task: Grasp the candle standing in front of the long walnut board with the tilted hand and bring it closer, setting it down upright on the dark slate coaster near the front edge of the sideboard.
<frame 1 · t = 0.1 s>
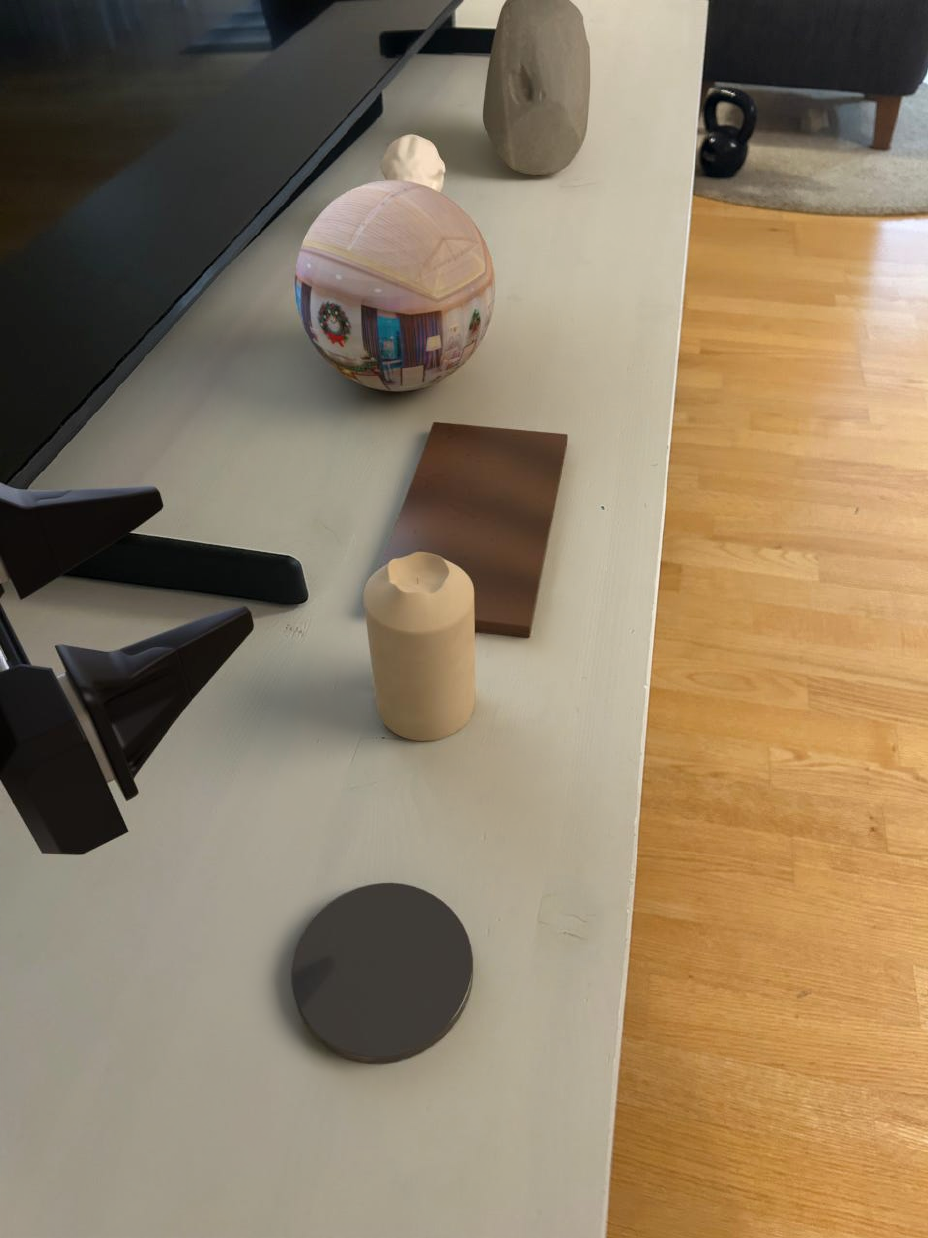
hand: (202, 552, 41), 15 cm above the table, tool horizontal, fingers open, 9 cm apart
walnut board: (476, 523, 66), on the table
candle: (426, 705, 55), on the table
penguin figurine: (410, 243, 97), on the table
decorative stone: (535, 156, 113), on the table
coaster: (383, 972, 44), on the table
ornament: (401, 379, 79), on the table
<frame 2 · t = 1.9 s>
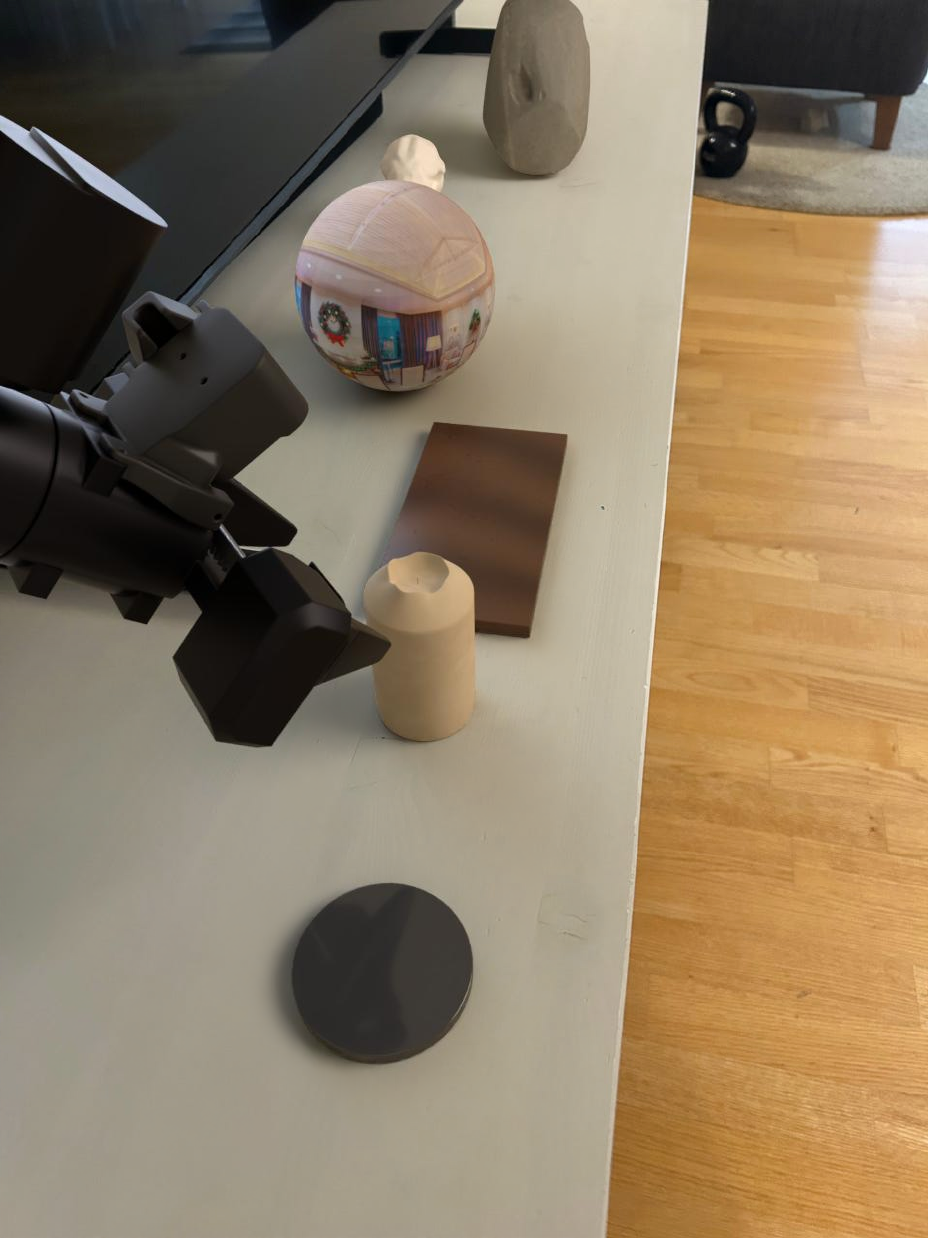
hand: (335, 590, 45), 11 cm above the table, tool tilted 45°, fingers open, 9 cm apart
nothing on the table moved.
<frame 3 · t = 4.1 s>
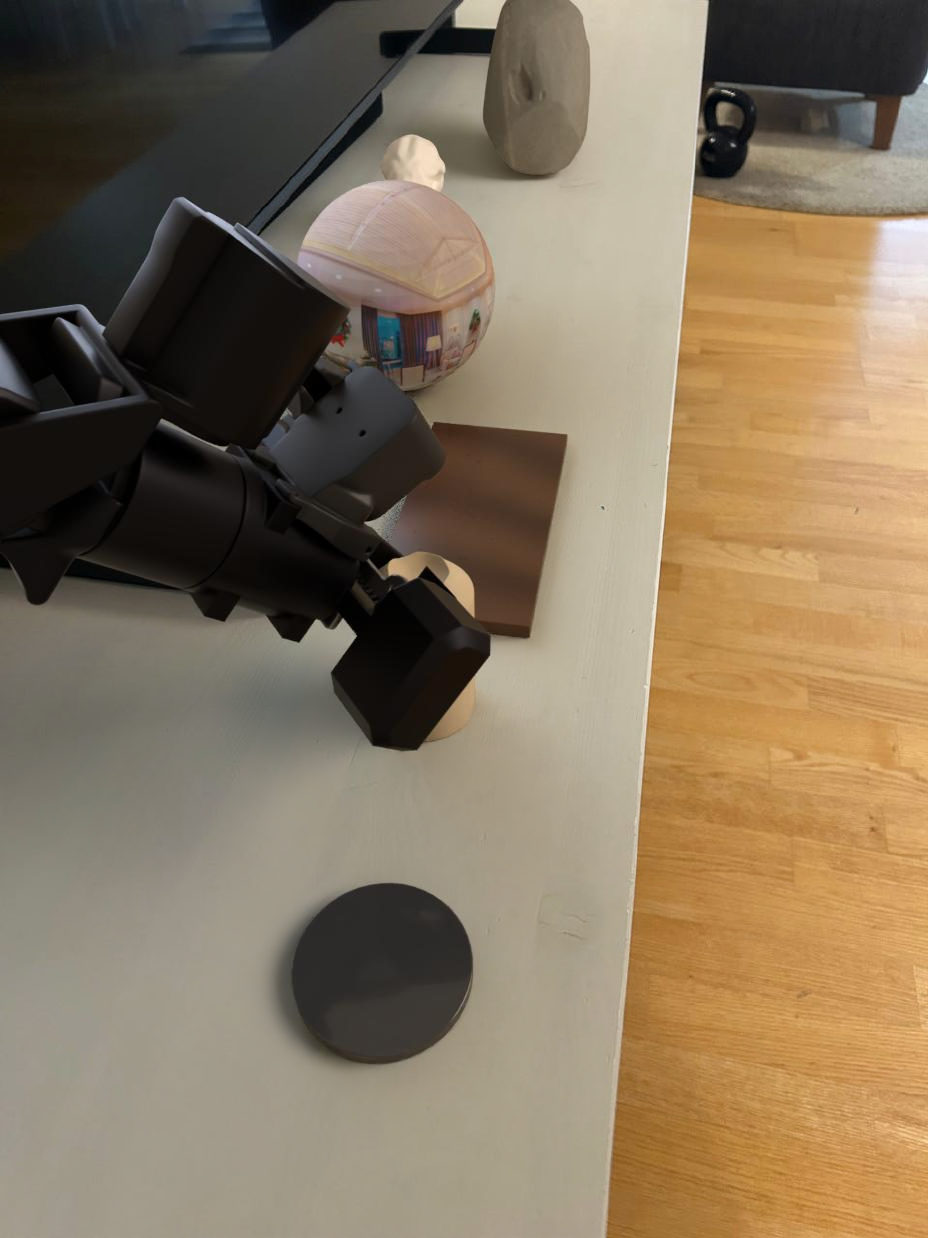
hand: (444, 610, 50), 7 cm above the table, tool tilted 45°, fingers closed on candle, 5 cm apart
candle: (426, 705, 55), on the table, touching gripper
everything else where it was.
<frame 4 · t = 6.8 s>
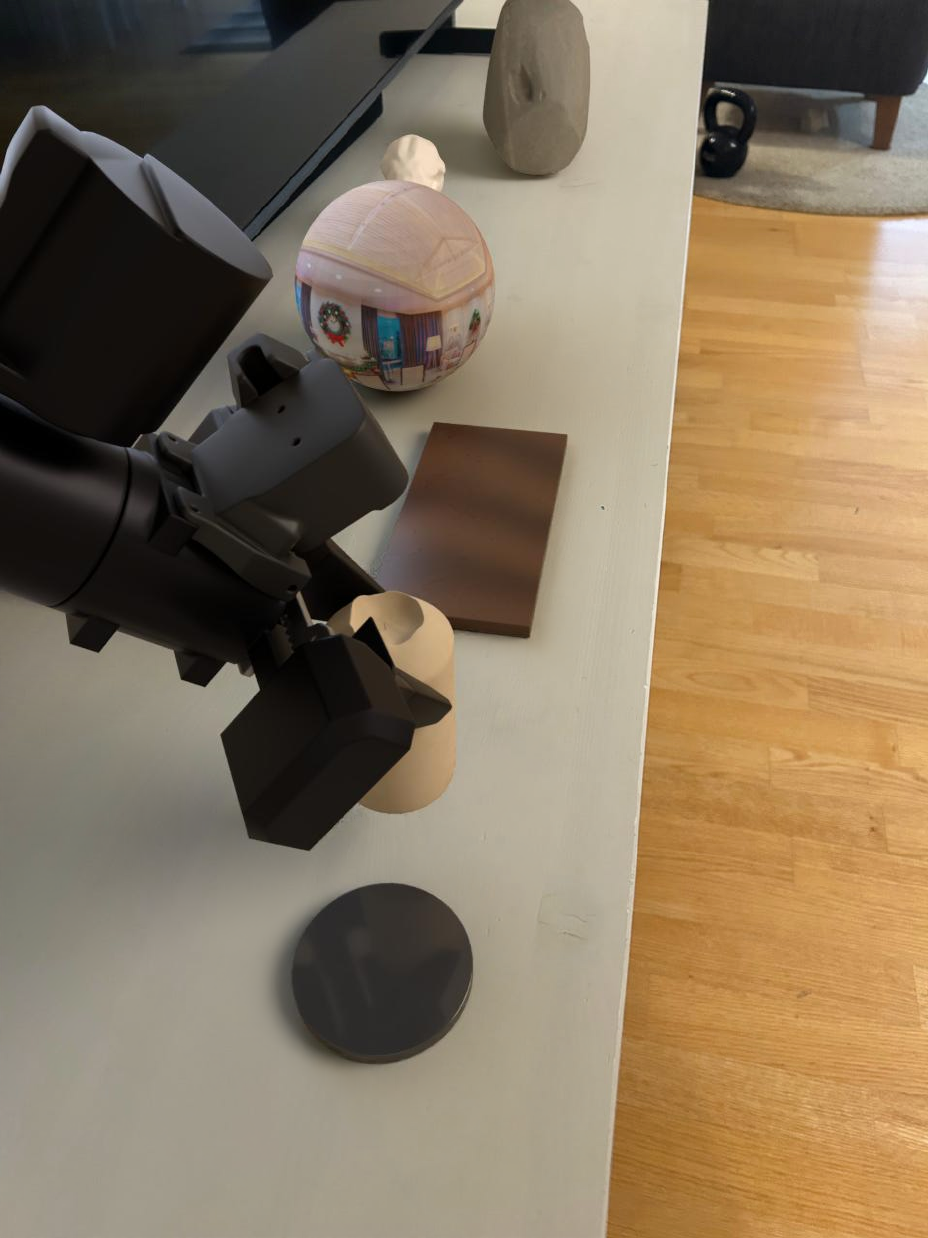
hand: (420, 664, 42), 11 cm above the table, tool tilted 45°, fingers closed on candle, 5 cm apart
candle: (397, 769, 46), point 4 cm above the table, touching gripper
everything else where it was.
when the fingers open (7 cm above the table, at t = 9.6 s): candle stays where it is, resting on coaster.
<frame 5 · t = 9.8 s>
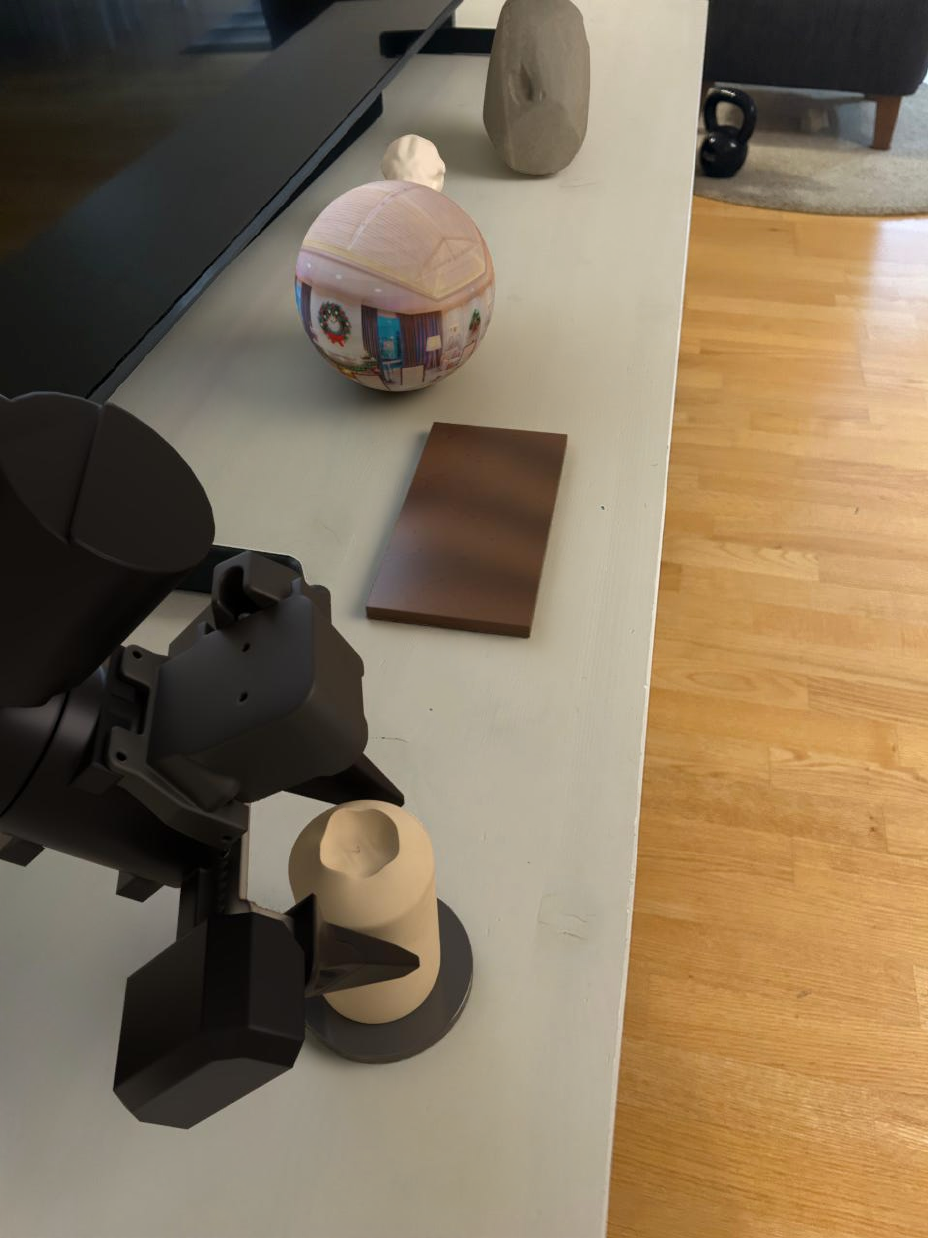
hand: (404, 881, 38), 7 cm above the table, tool tilted 45°, fingers open, 7 cm apart
candle: (378, 965, 43), point 1 cm above the table, touching coaster
everything else where it was.
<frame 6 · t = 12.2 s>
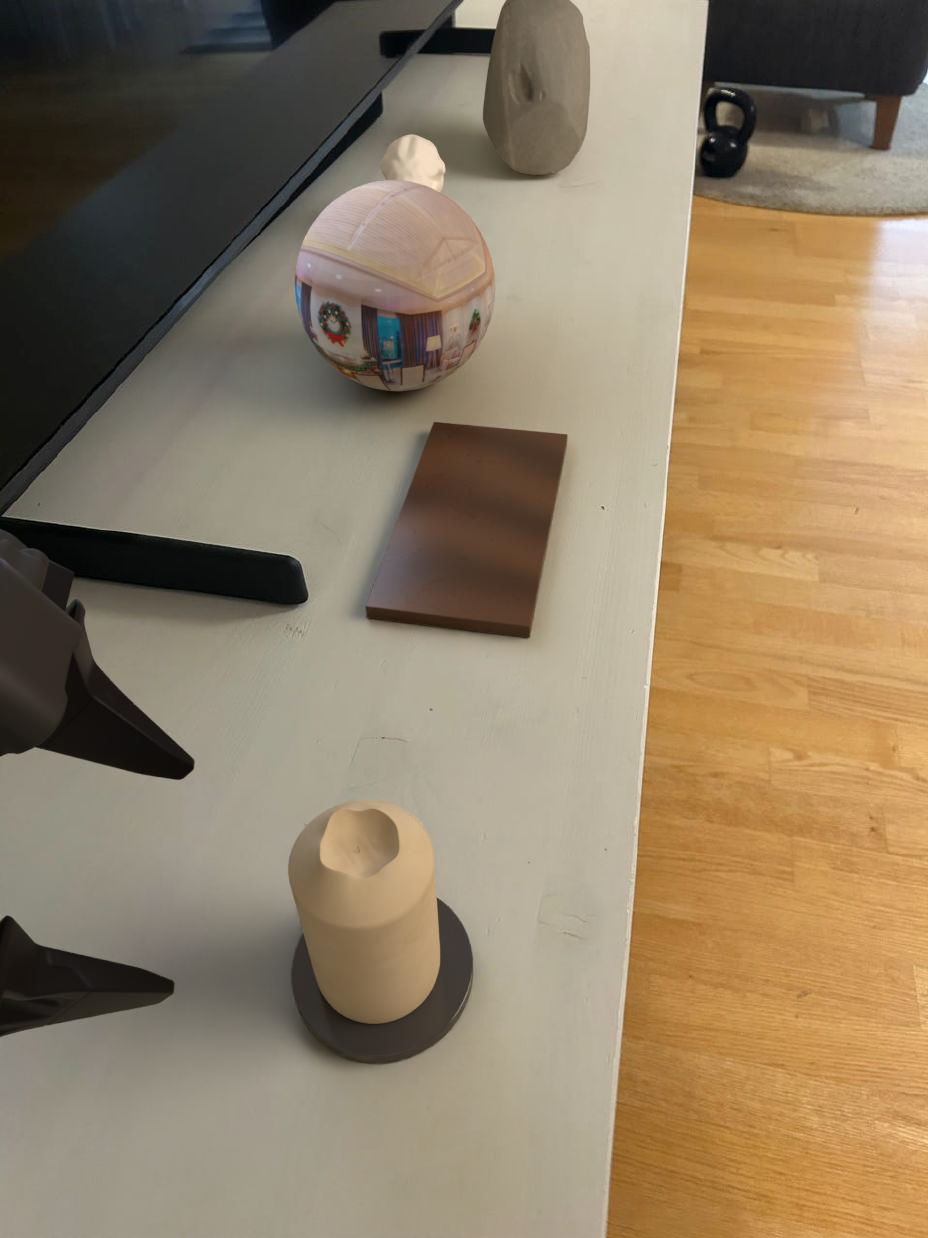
hand: (179, 872, 36), 10 cm above the table, tool tilted 45°, fingers open, 9 cm apart
nothing on the table moved.
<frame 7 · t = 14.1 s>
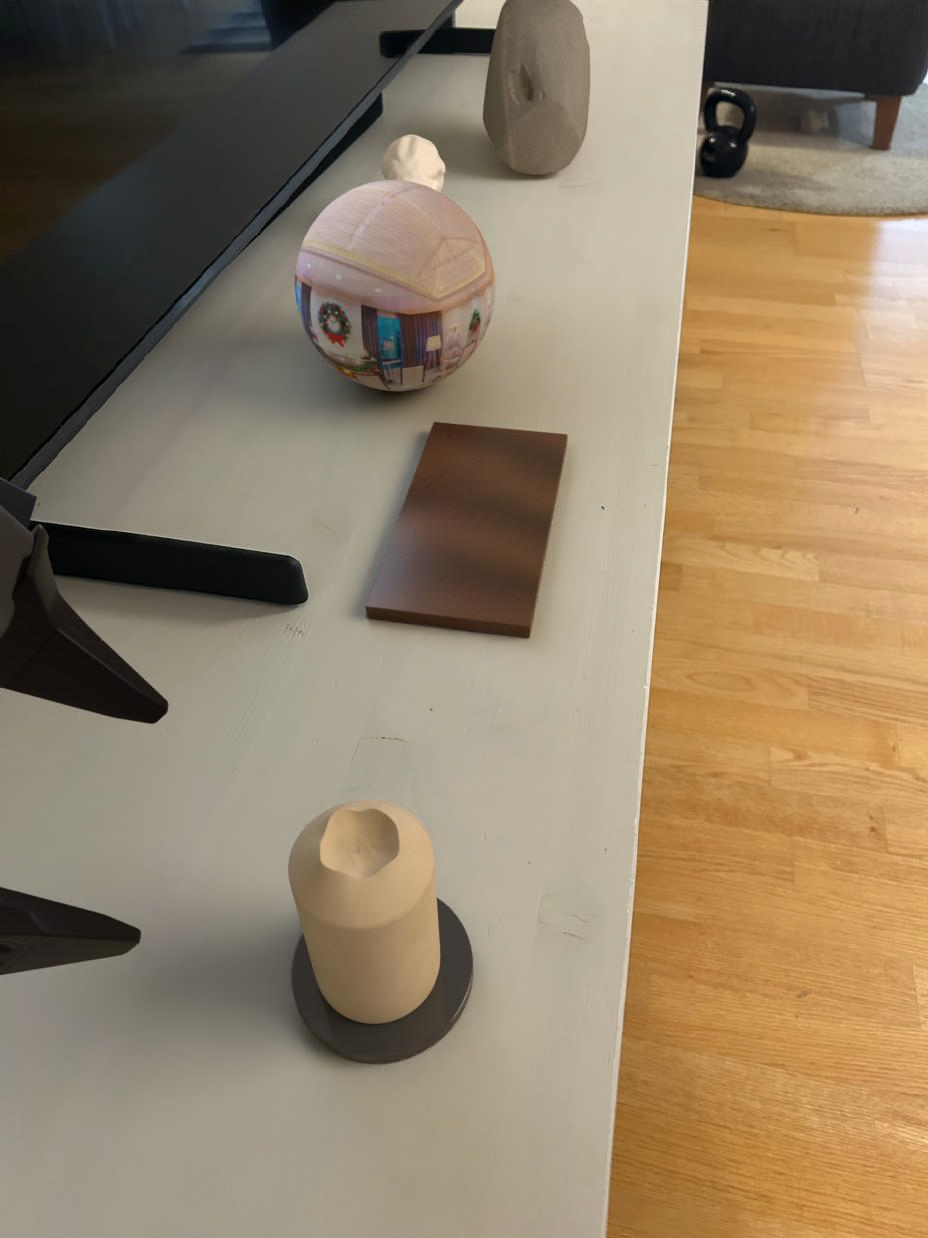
hand: (149, 817, 33), 14 cm above the table, tool tilted 45°, fingers open, 9 cm apart
nothing on the table moved.
at the end: candle 0.1 cm off-centre on the coaster, point 0.6 cm above the coaster's base; candle tilted 0°; candle touching coaster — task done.
